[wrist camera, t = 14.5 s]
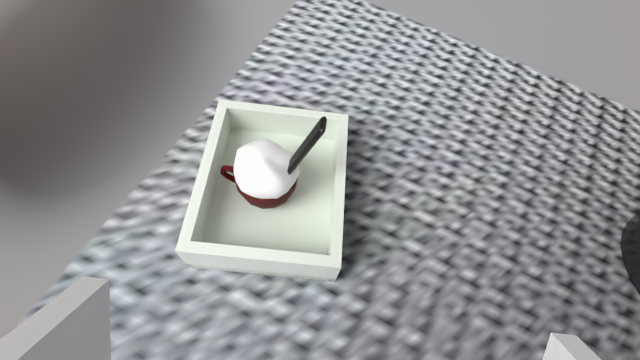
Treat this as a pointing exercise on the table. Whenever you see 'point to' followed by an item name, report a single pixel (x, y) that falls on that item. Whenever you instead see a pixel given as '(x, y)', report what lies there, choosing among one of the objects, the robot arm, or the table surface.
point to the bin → (273, 223)
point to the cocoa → (269, 169)
